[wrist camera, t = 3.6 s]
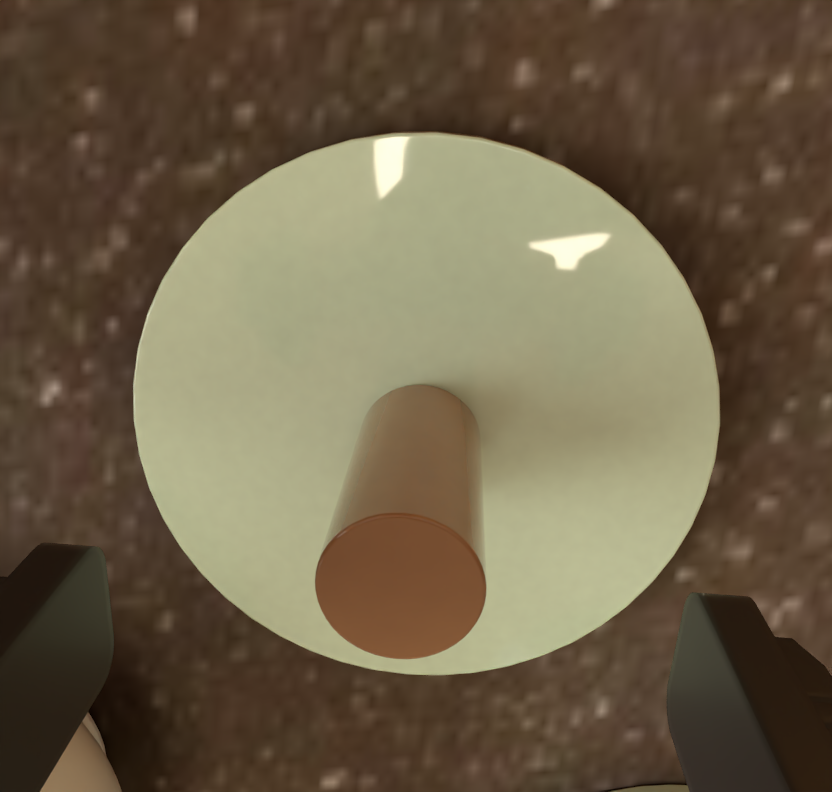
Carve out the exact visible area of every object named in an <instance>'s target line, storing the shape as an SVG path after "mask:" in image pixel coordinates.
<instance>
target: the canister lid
mask: <svg viewBox="0 0 832 792" xmlns="http://www.w3.org/2000/svg"><path fill="white" fill-rule="evenodd" d="M133 405H134V425H135V431H136V437H137V444H138V450H139V455H140V459H141V462H142V466H143V469H144V472H145V476H146V479H147V482H148V486H149V488H150V491H151V493H152V495H153V497H154V500H155V502H156V504H157V506H158V509H159V511H160V513H161V515H162V517H163V519H164V521H165V523H166V524H167V526H168V528H169V529H170V531H171V532H172V534H173V536H174V537H175V539H176V541H177V542H178V544H179V546H180V547H181V548H182V550H183V551H184V552H185V554H186V555H187V556H188V557H189V559H190V560H191V561H192V562H193V564H194V565H195V566H196V568H197V569H198V570H199V571H200V573H201V574H202V575H203V576H204V577H205V578H206V579H207V580H208V581H209V582H210V583H211V584H212V585H213V586H214V587H215V588H216V589H217V590H218V591H219V592H220V593H221V594H222V595H223V596H224V597H225V598H227V599H228V600H229V601H230V602H232V603H233V604H234V605H235V606H237V607H238V608H239V609H240V610H242V611H243V612H244V613H245V614H247V615H248V616H249V617H250V618H252V619H253V620H255V621H257V622H258V623H260V624H261V625H263V626H265V627H266V628H268V629H269V630H271V631H272V632H274V633H276V634H277V635H279V636H281V637H283V638H285V639H287V640H289V641H291V642H293V643H295V644H297V645H299V646H301V647H303V648H305V649H307V650H310V651H312V652H315V653H318V654H321V655H323V656H326V657H329V658H332V659H335V660H337V661H340V662H344V663H348V664H352V665H356V666H360V667H364V668H368V669H372V670H379V671H386V672H393V673H401V674H412V675H451V674H464V673H476V672H481V671H486V670H492V669H497V668H502V667H508V666H511V665H514V664H517V663H521V662H524V661H527V660H531V659H534V658H537V657H540V656H543V655H545V654H547V653H550V652H552V651H554V650H557V649H559V648H561V647H564V646H566V645H568V644H570V643H572V642H574V641H576V640H578V639H579V638H581V637H583V636H585V635H586V634H588V633H590V632H591V631H593V630H595V629H597V628H598V627H600V626H602V625H603V624H604V623H606V622H607V621H608V620H610V619H611V618H612V617H614V616H615V615H616V614H618V613H619V612H620V611H622V610H623V609H624V608H626V607H627V606H628V605H629V604H630V603H631V602H632V601H633V600H634V599H635V598H637V597H638V596H639V595H640V594H641V593H642V592H643V591H644V590H645V589H646V588H647V587H648V586H649V585H650V584H651V583H652V582H653V581H654V580H655V578H656V577H657V576H658V575H659V573H660V572H661V571H662V570H663V568H664V567H665V566H666V565H667V564H668V562H669V561H670V560H671V559H672V557H673V556H674V555H675V553H676V551H677V550H678V548H679V546H680V545H681V543H682V541H683V540H684V538H685V537H686V535H687V533H688V532H689V530H690V528H691V527H692V525H693V522H694V520H695V518H696V515H697V513H698V511H699V509H700V506H701V504H702V502H703V499H704V497H705V495H706V492H707V488H708V485H709V481H710V477H711V474H712V470H713V467H714V463H715V460H716V452H717V444H718V437H719V429H720V386H719V380H718V374H717V368H716V362H715V355H714V350H713V347H712V343H711V340H710V337H709V334H708V331H707V328H706V325H705V322H704V318H703V315H702V313H701V311H700V309H699V307H698V305H697V302H696V300H695V298H694V296H693V294H692V292H691V290H690V288H689V286H688V284H687V282H686V280H685V278H684V277H683V275H682V274H681V272H680V271H679V269H678V268H677V266H676V265H675V264H674V262H673V261H672V259H671V258H670V256H669V255H668V253H667V252H666V250H665V249H664V248H663V246H662V245H661V244H660V243H659V241H658V240H657V239H656V238H655V237H654V236H653V235H652V234H651V233H650V232H649V231H648V230H647V229H646V227H645V226H644V225H643V224H642V223H641V222H640V221H639V220H638V219H637V218H636V217H635V216H634V215H633V214H632V213H631V212H630V211H629V210H627V209H626V208H625V207H624V206H622V205H621V204H620V203H619V202H617V201H616V200H615V199H614V198H612V197H611V196H610V195H609V194H608V193H606V192H605V191H604V190H603V189H601V188H600V187H599V186H597V185H596V184H594V183H592V182H591V181H589V180H587V179H586V178H584V177H582V176H581V175H579V174H577V173H576V172H574V171H572V170H570V169H569V168H567V167H565V166H564V165H562V164H560V163H558V162H555V161H553V160H551V159H548V158H546V157H544V156H541V155H539V154H537V153H534V152H532V151H529V150H527V149H525V148H522V147H519V146H515V145H511V144H508V143H504V142H500V141H496V140H493V139H489V138H485V137H481V136H474V135H466V134H458V133H450V132H441V131H412V132H391V133H384V134H378V135H371V136H365V137H358V138H353V139H350V140H346V141H343V142H340V143H336V144H333V145H330V146H326V147H323V148H320V149H316V150H313V151H311V152H308V153H306V154H304V155H302V156H300V157H297V158H295V159H293V160H291V161H289V162H287V163H285V164H282V165H280V166H278V167H276V168H274V169H272V170H270V171H269V172H267V173H265V174H264V175H262V176H261V177H259V178H258V179H256V180H255V181H253V182H252V183H250V184H249V185H247V186H245V187H244V188H242V189H241V190H239V191H238V192H236V193H235V194H234V195H233V196H232V197H231V198H230V199H229V200H227V201H226V202H225V203H224V204H223V205H222V206H221V207H219V208H218V209H217V210H216V211H215V212H214V213H213V214H211V215H210V216H209V217H208V218H207V219H206V220H205V221H204V223H203V224H202V225H201V226H200V227H199V228H198V230H197V231H196V232H195V233H194V234H193V236H192V237H191V238H190V239H189V240H188V241H187V243H186V244H185V245H184V246H183V247H182V249H181V250H180V252H179V253H178V255H177V257H176V258H175V260H174V261H173V263H172V265H171V266H170V268H169V269H168V271H167V273H166V274H165V276H164V277H163V279H162V281H161V283H160V286H159V288H158V290H157V292H156V295H155V297H154V299H153V302H152V304H151V306H150V308H149V311H148V313H147V316H146V320H145V323H144V327H143V331H142V334H141V338H140V342H139V345H138V349H137V357H136V365H135V373H134V381H133Z"/></svg>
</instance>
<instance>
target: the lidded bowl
mask: <svg viewBox="0 0 832 792" xmlns="http://www.w3.org/2000/svg"><path fill="white" fill-rule="evenodd" d="M40 792H122V791H121V788H120V785H119V782H118V780H117V777H116V775H115V773H114V771H113V768H112V766H111V764H110V762H109V761H108V759H107V757H106V752H105V746H104V743H103V740H102V738H101V735H100V732H99V730H98V728H97V726H96V725H95V723H94V721H93V719H92V717H91V716H90V714H89V713H87V714H86V716H85V718H84V719H83V721H82V723H81V724H80V726H79V727H78V729H77V731H76V732H75V734H74V736H73V737H72V739H71V741H70V742H69V744H68V746H67V747H66V749H65V751H64V752H63V754H62V756H61V757H60V759H59V761H58V762H57V764H56V766H55V767H54V769H53V771H52V772H51V774H50V776H49V777H48V779H47V781H46V782H45V784H44V786H43V787H42V789H41V791H40Z"/></svg>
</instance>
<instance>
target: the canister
mask: <svg viewBox="0 0 832 792" xmlns="http://www.w3.org/2000/svg"><path fill="white" fill-rule="evenodd" d="M610 792H689V789H688V786H687V785H670V784H668V785H652V786H639V787H632V788H626V789H620V790H614V791H610Z"/></svg>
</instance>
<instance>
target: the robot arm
mask: <svg viewBox="0 0 832 792" xmlns="http://www.w3.org/2000/svg"><path fill="white" fill-rule="evenodd" d="M113 652H114V633H113V624H112V614H111V605H110V596H109V587H108V577H107V568H106V560H105V556H104V553H103V551H102V550H101V549H100V548H99V547H95V546H82V545H68V544H55V543H41V544H40V545H38V546H37V547H36V548H35V549H34V550H33V551H32V552H31V553H30V554H29V555H28V556H27V557H26V558H25V559H24V560H23V561H22V562H21V564H20V565H19V566H18V567H17V568H16V569H15V570H14V571H13V572H12V573H11V574H10V575H9V576H8V577H0V792H40V791H41V789H42V787H43V786H44V784H45V782H46V781H47V779H48V777H49V776H50V774H51V772H52V771H53V769H54V767H55V766H56V764H57V762H58V761H59V759H60V757H61V756H62V754H63V752H64V751H65V749H66V747H67V746H68V744H69V742H70V741H71V739H72V737H73V736H74V734H75V732H76V731H77V729H78V727H79V726H80V724H81V723H82V721H83V719H84V718H85V716H86V714H87V713H88V711H89V709H90V708H91V706H92V704H93V703H94V701H95V699H96V698H97V696H98V694H99V693H100V691H101V689H102V688H103V686H104V684H105V682H106V679H107V677H108V674H109V671H110V668H111V664H112V659H113ZM667 716H668V723H669V729H670V733H671V736H672V739H673V742H674V745H675V749H676V752H677V755H678V758H679V761H680V764H681V767H682V770H683V773H684V776H685V779H686V783H687V786H688V789H689V792H832V676H831V675H830V673H829V672H828V670H827V669H826V667H825V666H824V665H823V664H821V663H820V662H819V661H818V660H817V659H816V658H814V657H813V656H812V655H811V654H810V653H809V652H807V651H806V650H805V649H804V648H803V647H802V646H800V645H799V644H798V643H797V642H796V641H795V640H793V639H792V638H779V637H774V635H773V633H772V632H771V630H770V628H769V626H768V625H767V623H766V621H765V619H764V618H763V616H762V614H761V612H760V611H759V609H758V607H757V605H756V604H755V602H754V601H753V600H752V599H751V598H750V597H746V596H733V595H719V594H706V593H691V594H690V595H689V596H688V597H687V599H686V602H685V605H684V609H683V614H682V619H681V623H680V628H679V633H678V638H677V643H676V647H675V652H674V657H673V662H672V667H671V671H670V676H669V681H668V687H667Z"/></svg>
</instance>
